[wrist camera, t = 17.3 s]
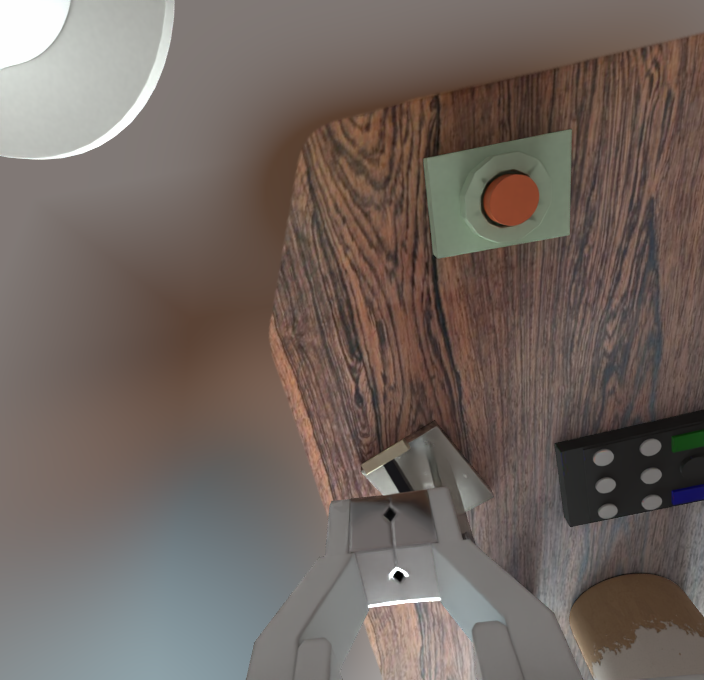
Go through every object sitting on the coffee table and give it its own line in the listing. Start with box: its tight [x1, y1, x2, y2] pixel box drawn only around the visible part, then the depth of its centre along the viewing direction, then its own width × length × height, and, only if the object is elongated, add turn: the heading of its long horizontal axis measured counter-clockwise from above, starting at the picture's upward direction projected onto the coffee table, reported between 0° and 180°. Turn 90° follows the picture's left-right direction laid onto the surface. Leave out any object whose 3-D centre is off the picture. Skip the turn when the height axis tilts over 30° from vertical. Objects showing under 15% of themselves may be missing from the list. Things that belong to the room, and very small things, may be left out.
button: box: [483, 174, 539, 226], centre depth 31 cm, size 4×4×2 cm
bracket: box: [361, 420, 494, 545], centre depth 41 cm, size 12×10×12 cm
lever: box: [361, 438, 414, 493], centre depth 38 cm, size 12×5×2 cm
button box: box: [423, 129, 572, 258], centre depth 33 cm, size 11×8×4 cm
